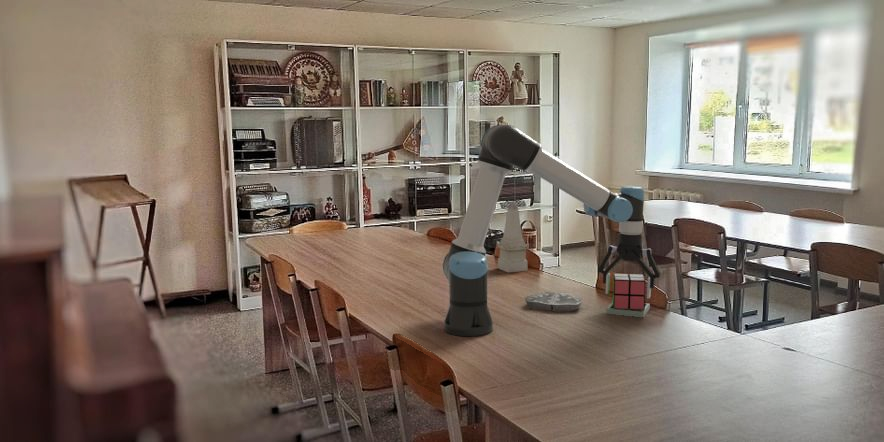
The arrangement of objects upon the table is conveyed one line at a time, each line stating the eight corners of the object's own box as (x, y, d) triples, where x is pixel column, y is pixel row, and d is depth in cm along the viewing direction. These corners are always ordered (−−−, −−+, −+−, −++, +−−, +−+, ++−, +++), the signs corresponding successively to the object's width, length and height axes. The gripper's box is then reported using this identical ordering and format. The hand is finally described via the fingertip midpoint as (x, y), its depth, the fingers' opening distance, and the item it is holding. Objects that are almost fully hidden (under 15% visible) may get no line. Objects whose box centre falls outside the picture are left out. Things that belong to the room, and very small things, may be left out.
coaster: (643, 317, 226) (643, 312, 226) (606, 313, 231) (606, 308, 231) (649, 308, 237) (649, 303, 237) (614, 305, 242) (614, 300, 242)
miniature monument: (529, 270, 300) (529, 201, 296) (507, 272, 296) (507, 203, 292) (517, 266, 310) (518, 199, 306) (496, 268, 306) (496, 200, 302)
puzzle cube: (644, 310, 228) (645, 280, 226) (613, 309, 230) (614, 279, 229) (642, 302, 238) (643, 274, 236) (612, 301, 240) (613, 273, 238)
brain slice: (584, 302, 248) (584, 293, 247) (580, 314, 231) (580, 306, 231) (529, 299, 253) (529, 291, 252) (522, 311, 237) (522, 302, 236)
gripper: (671, 234, 228) (668, 296, 231) (595, 228, 239) (593, 289, 242) (667, 237, 222) (664, 302, 225) (590, 231, 232) (588, 293, 235)
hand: (627, 295), depth 233 cm, fingers open, 13 cm apart
